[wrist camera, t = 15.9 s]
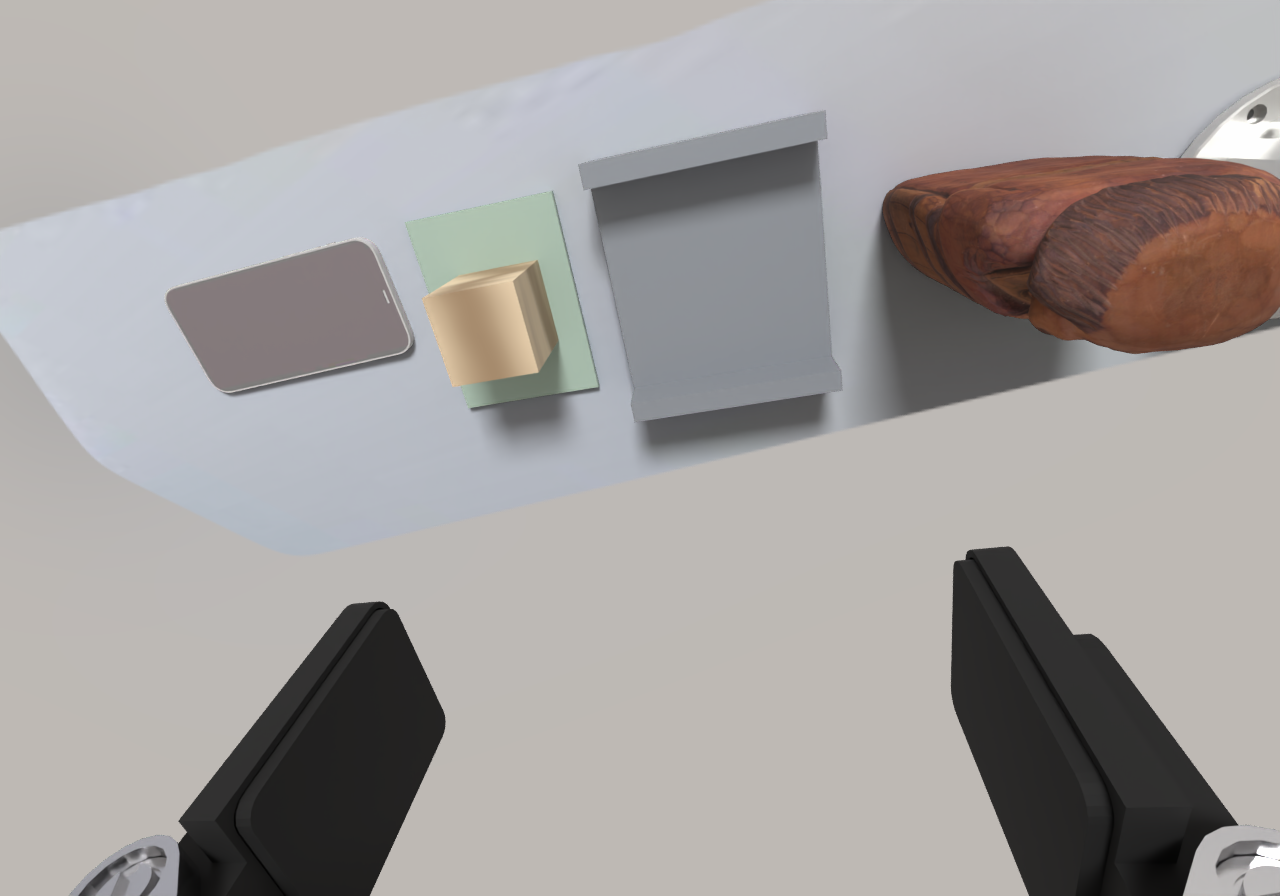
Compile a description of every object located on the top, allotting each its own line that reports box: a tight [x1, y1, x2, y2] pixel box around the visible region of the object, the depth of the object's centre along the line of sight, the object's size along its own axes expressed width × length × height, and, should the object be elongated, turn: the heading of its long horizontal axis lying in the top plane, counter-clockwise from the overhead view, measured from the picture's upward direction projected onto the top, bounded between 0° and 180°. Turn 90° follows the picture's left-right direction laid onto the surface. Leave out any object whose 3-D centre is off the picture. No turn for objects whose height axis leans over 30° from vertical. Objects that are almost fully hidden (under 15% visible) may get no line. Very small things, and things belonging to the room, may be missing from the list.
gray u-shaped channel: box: [578, 111, 842, 422], centre depth 35 cm, size 12×14×4 cm
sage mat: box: [405, 191, 599, 408], centre depth 39 cm, size 9×12×1 cm
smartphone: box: [165, 237, 414, 393], centre depth 40 cm, size 7×1×15 cm
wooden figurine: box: [883, 156, 1280, 354], centre depth 27 cm, size 12×6×18 cm, turn 97°
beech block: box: [422, 260, 559, 387], centre depth 36 cm, size 5×5×6 cm
